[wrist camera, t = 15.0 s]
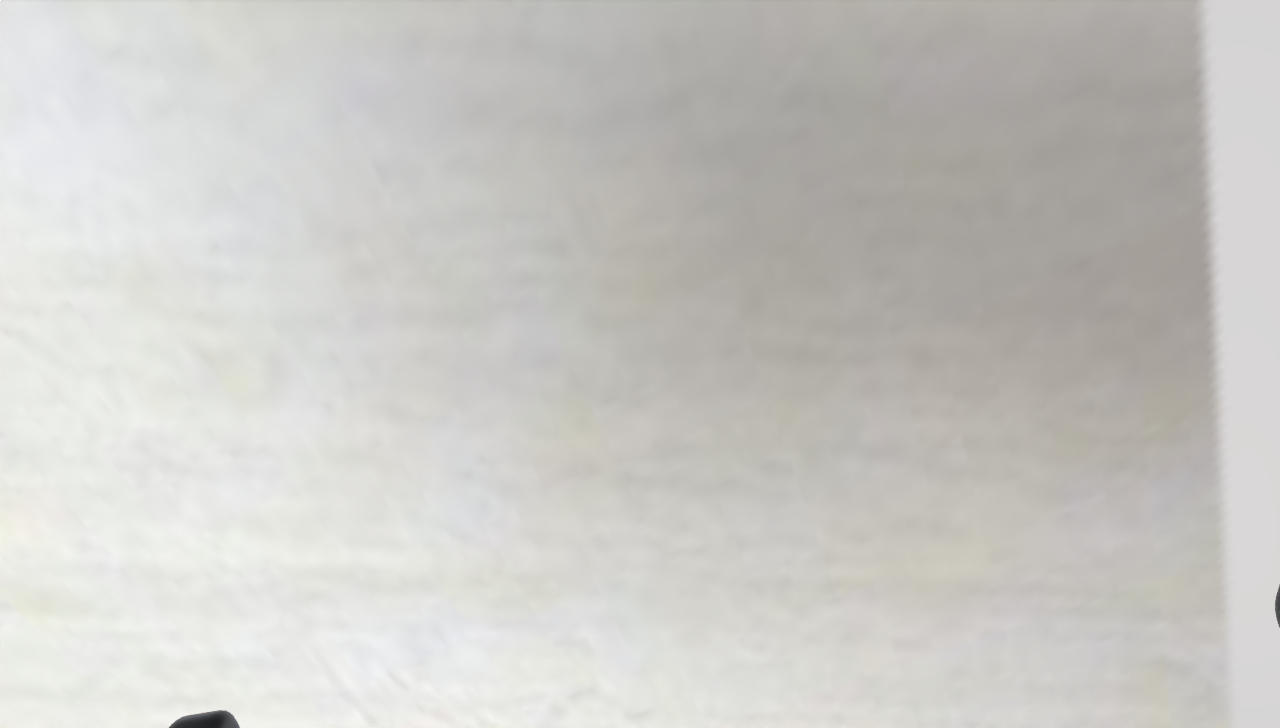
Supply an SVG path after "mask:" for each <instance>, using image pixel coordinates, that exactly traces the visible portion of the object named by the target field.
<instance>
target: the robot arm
mask: <svg viewBox="0 0 1280 728" xmlns="http://www.w3.org/2000/svg"><path fill="white" fill-rule="evenodd" d="M1275 611H1276V617H1277V621H1278V624H1279V627H1280V586H1279V589H1278V592H1277V596H1276V601H1275ZM169 728H240V727H239V725H238V723H237V721H236V719H235V718H234V716H233V715H232V714H231V713H229V712H227V711H222V710H219V711H213V712H207V713H201V714H195V715H188V716H184V717H182V718H180V719H178V720H177V721H175V722H174V723H173V724H172V725H171V726H170V727H169Z"/></svg>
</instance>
